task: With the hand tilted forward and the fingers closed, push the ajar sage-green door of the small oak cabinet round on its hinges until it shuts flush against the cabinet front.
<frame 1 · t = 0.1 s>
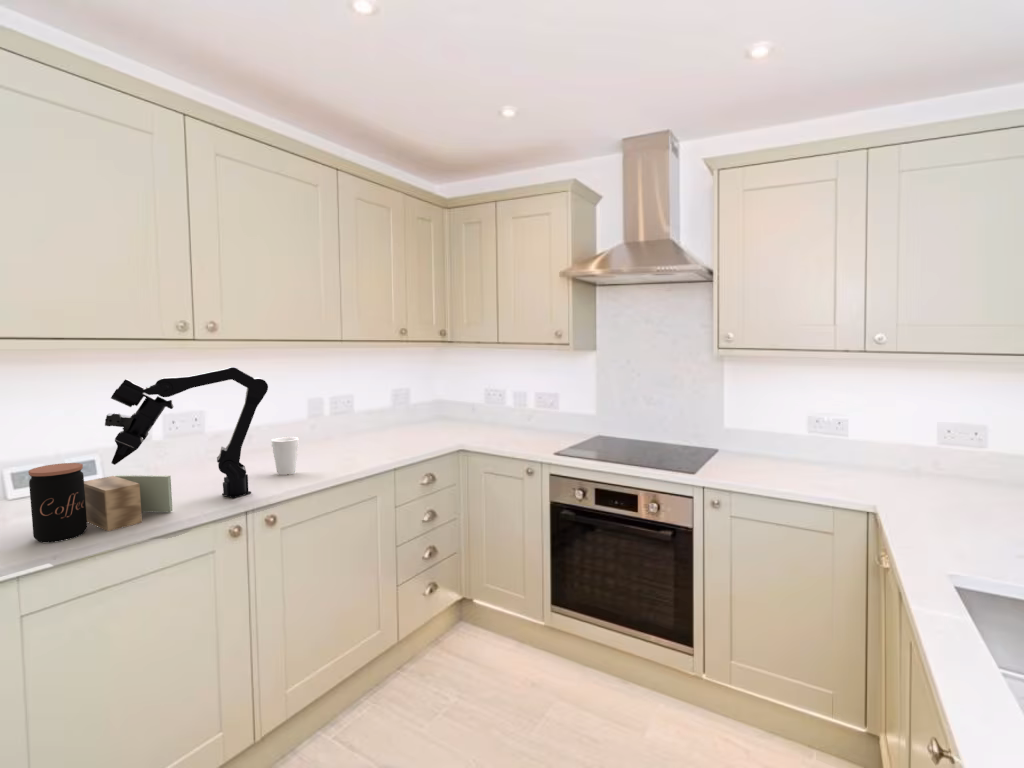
hand: (115, 460, 156), 15 cm above the worktop, tool tilted 30°, fingers open, 9 cm apart
foam cup: (286, 473, 201), on the worktop
cabinet: (112, 521, 147), on the worktop
door: (144, 492, 155), point 6 cm above the worktop, hinge at 30.0°
coffee jar: (61, 536, 137), on the worktop
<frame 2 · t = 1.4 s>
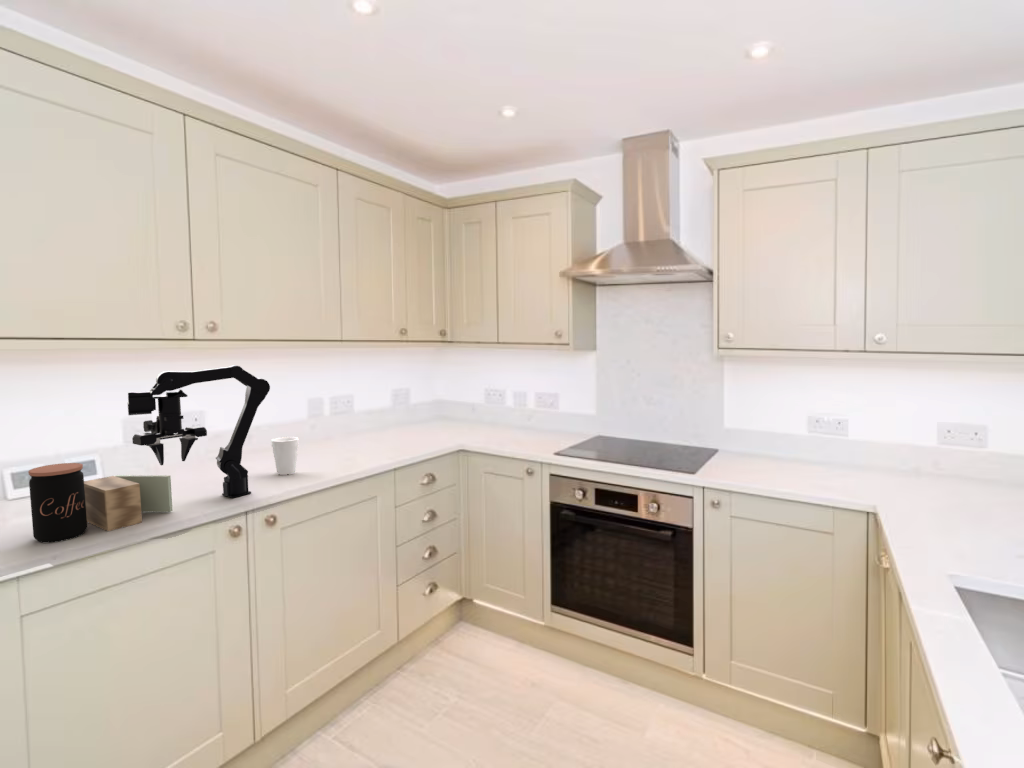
hand: (172, 463, 161), 13 cm above the worktop, tool pointing down, fingers open, 6 cm apart
nothing on the worktop moved.
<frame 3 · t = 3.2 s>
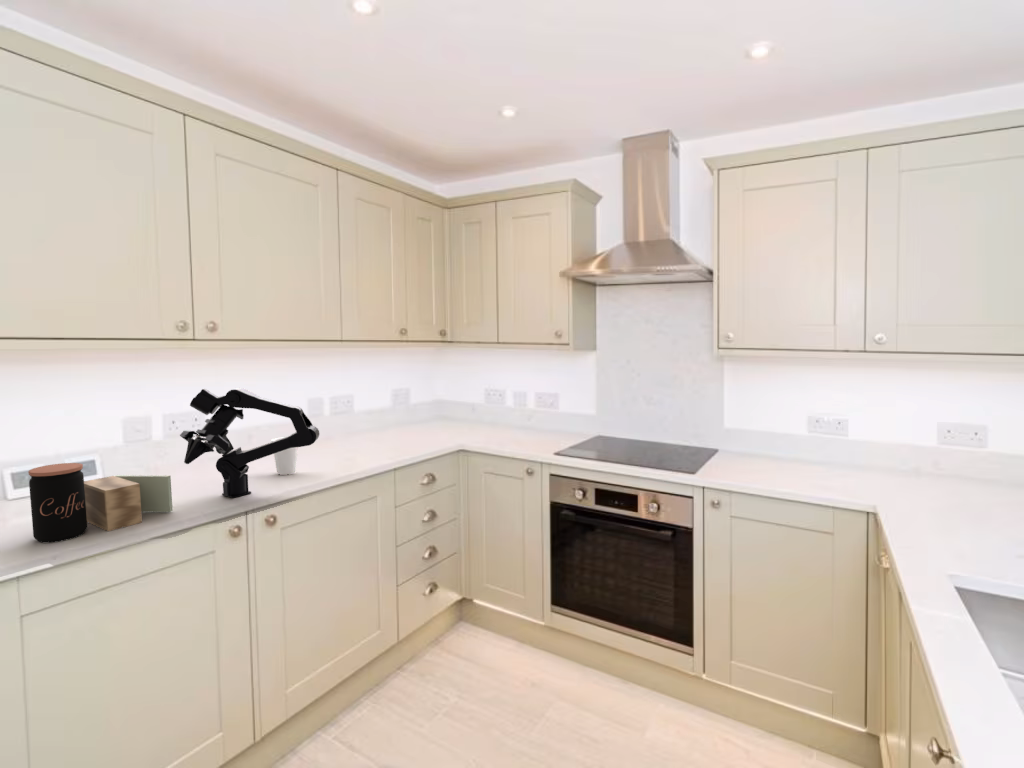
hand: (185, 463, 160), 13 cm above the worktop, tool tilted 45°, fingers closed
nothing on the worktop moved.
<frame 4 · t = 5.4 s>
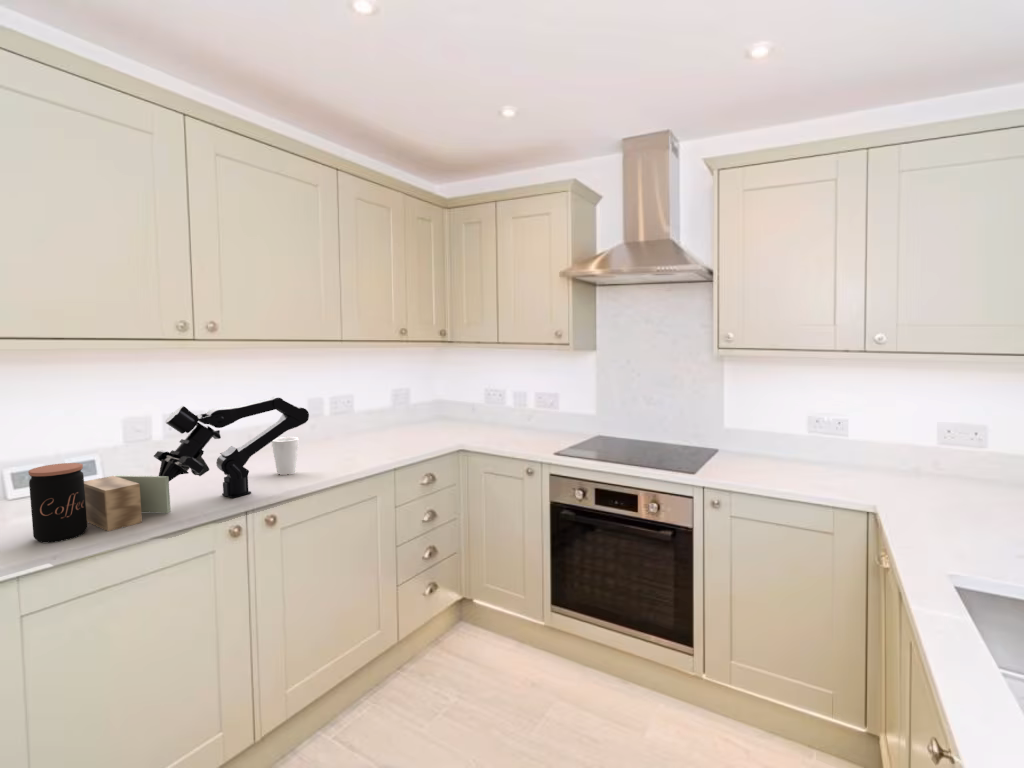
hand: (158, 486, 155), 8 cm above the worktop, tool tilted 45°, fingers closed
door: (143, 493, 155), point 6 cm above the worktop, hinge at 26.7°, touching gripper
everything else where it was.
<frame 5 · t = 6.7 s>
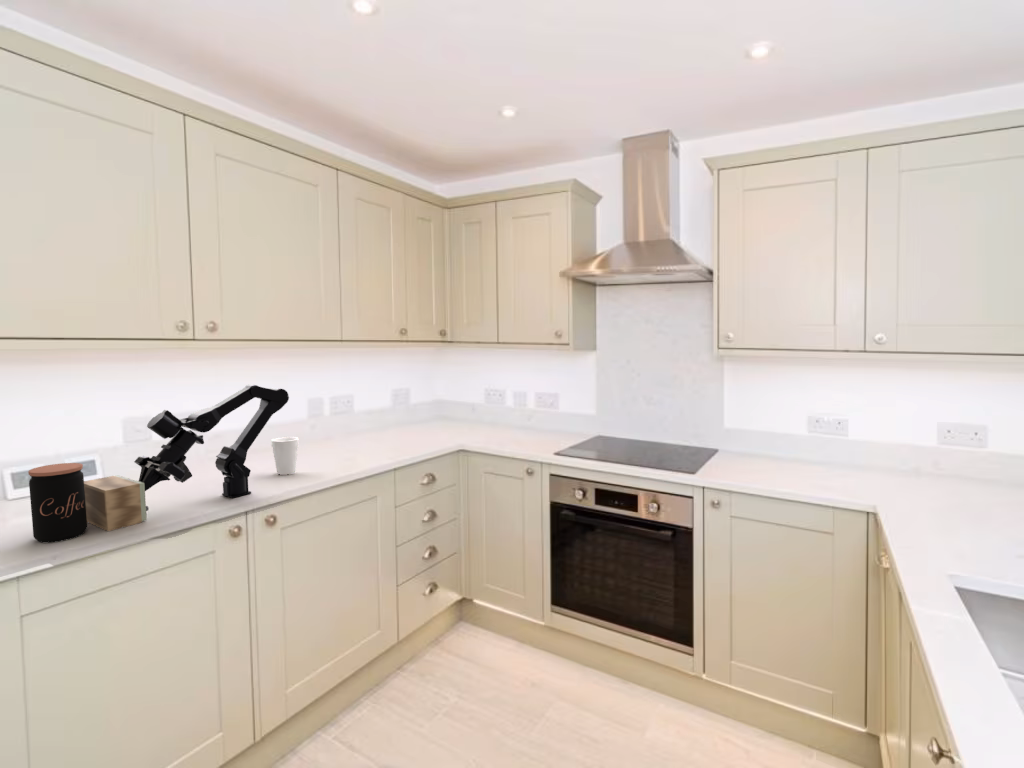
hand: (138, 493, 150), 7 cm above the worktop, tool tilted 45°, fingers closed, pressing on door
door: (131, 496, 151), point 6 cm above the worktop, hinge at 0.0°, touching cabinet, gripper
everything else where it was.
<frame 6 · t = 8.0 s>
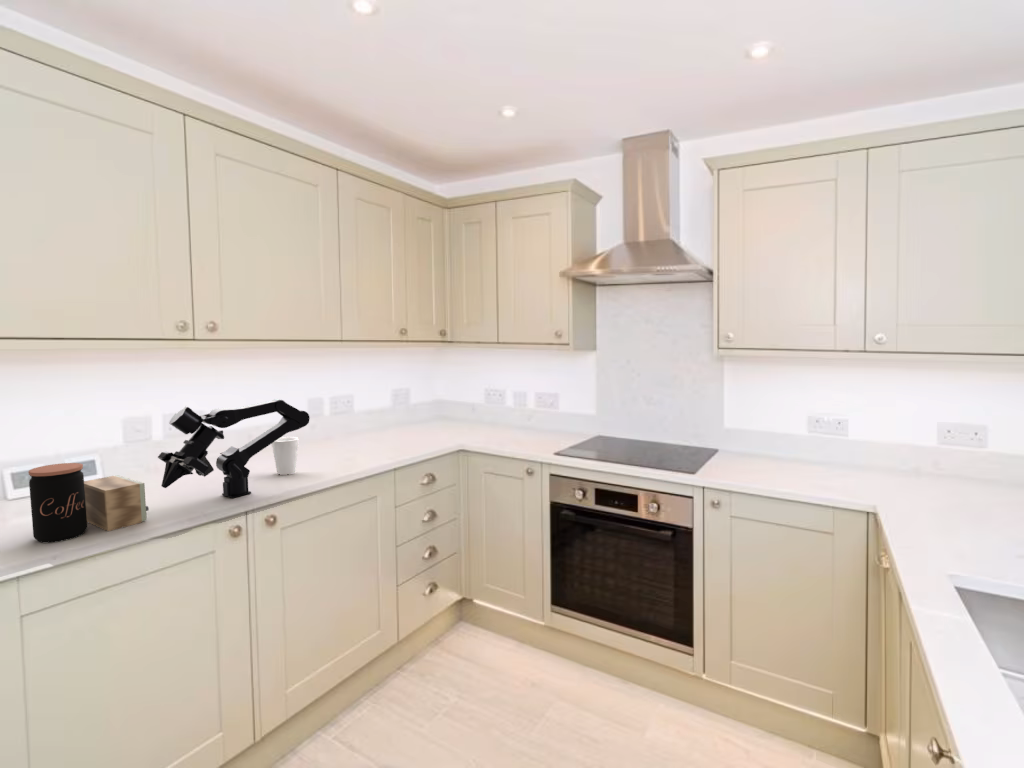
hand: (163, 487, 155), 7 cm above the worktop, tool tilted 45°, fingers closed
door: (131, 496, 151), point 6 cm above the worktop, hinge at 0.0°, touching cabinet
everything else where it was.
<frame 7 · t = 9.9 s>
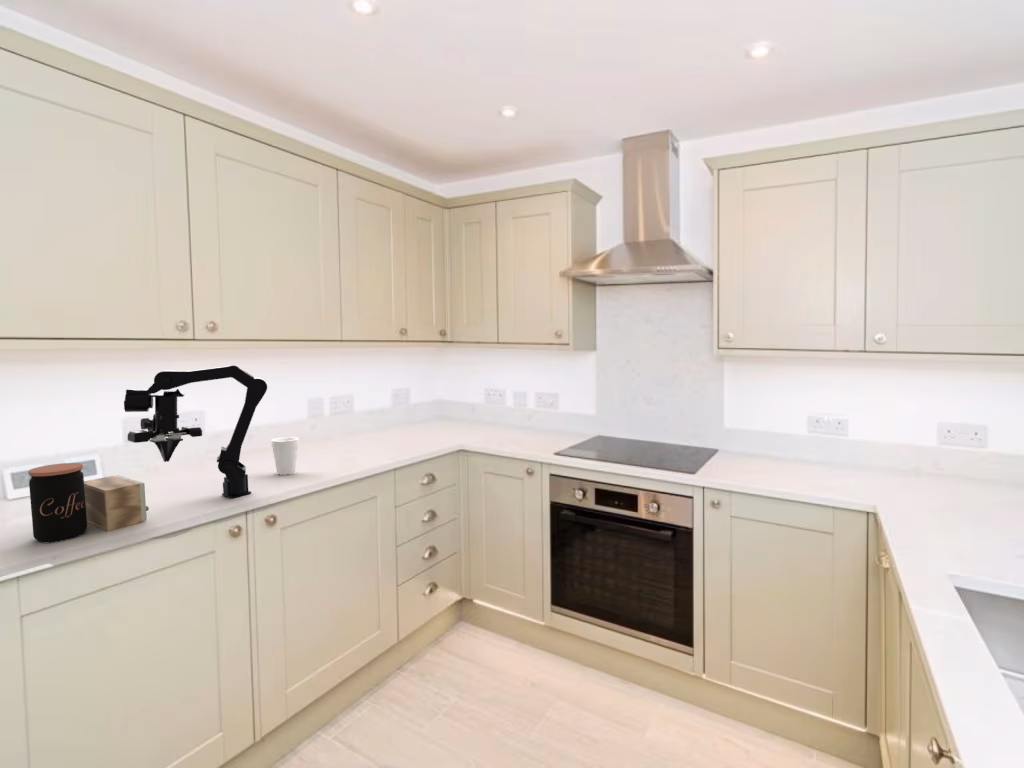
hand: (166, 461, 163), 13 cm above the worktop, tool pointing down, fingers closed
nothing on the worktop moved.
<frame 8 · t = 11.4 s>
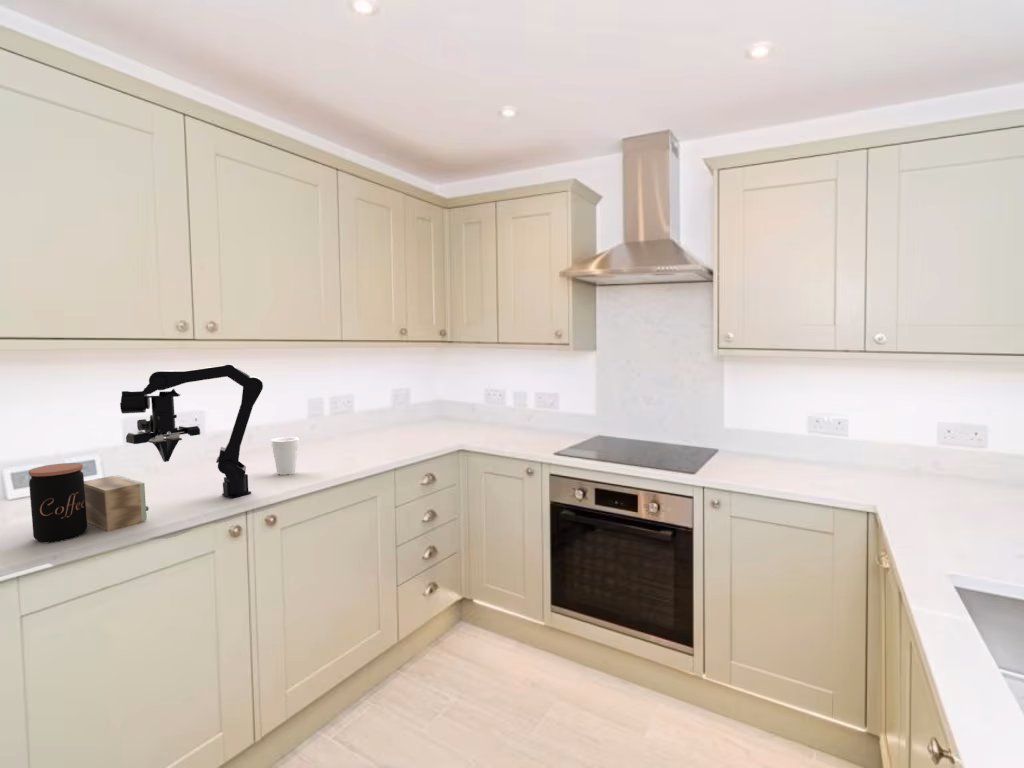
hand: (166, 461, 163), 13 cm above the worktop, tool pointing down, fingers closed
nothing on the worktop moved.
at the end: door at +0° (first picture: +30°); the gripper is holding nothing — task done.
